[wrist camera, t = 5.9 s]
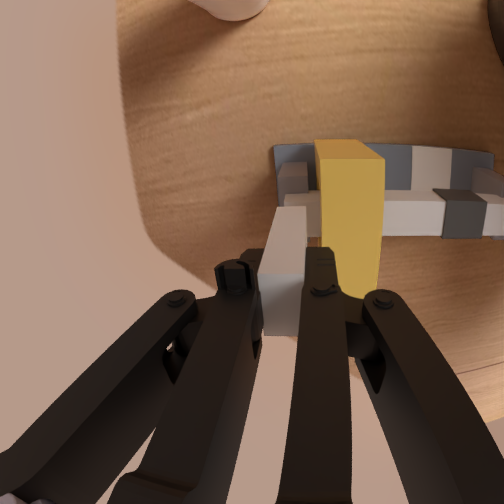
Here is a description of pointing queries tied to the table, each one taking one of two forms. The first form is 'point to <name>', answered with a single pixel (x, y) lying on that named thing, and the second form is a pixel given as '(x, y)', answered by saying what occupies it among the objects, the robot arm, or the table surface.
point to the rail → (395, 169)
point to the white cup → (232, 8)
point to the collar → (351, 210)
